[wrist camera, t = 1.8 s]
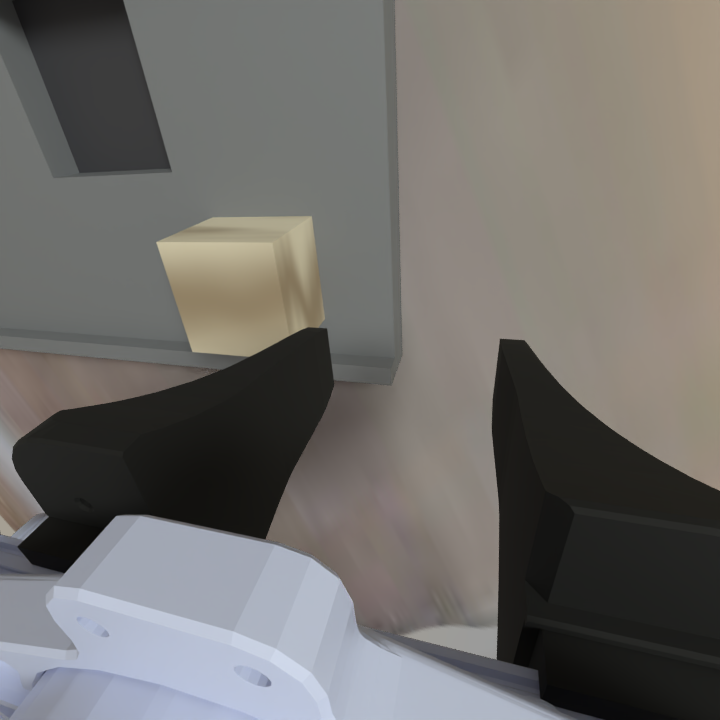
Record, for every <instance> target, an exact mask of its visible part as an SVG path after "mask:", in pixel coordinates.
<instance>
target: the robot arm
mask: <svg viewBox="0 0 720 720" xmlns="http://www.w3.org/2000/svg"><path fill="white" fill-rule="evenodd" d="M333 387H334V378H333V370H332V362H331V354H330V347H329V339H328V331H327V328H314V327H307V328H305V329H302V330H300V331H298V332H296V333H294V334H292V335H290V336H288V337H286V338H284V339H283V340H281V341H279V342H277V343H275V344H273V345H271V346H270V347H268V348H266V349H264V350H262V351H260V352H258V353H256V354H254V355H252V356H250V357H248V358H246V359H244V360H242V361H240V362H238V363H236V364H234V365H232V366H230V367H227V368H225V369H223V370H220V371H218V372H216V373H213V374H211V375H208V376H205V377H203V378H200V379H197V380H195V381H192V382H189V383H185V384H182V385H179V386H176V387H172V388H169V389H166V390H163V391H159V392H156V393H152V394H148V395H144V396H140V397H135V398H131V399H126V400H122V401H117V402H112V403H106V404H100V405H94V406H88V407H81V408H75V409H68V410H61V411H59V412H57V413H55V414H54V415H52V416H51V417H50V418H48V419H47V420H46V421H44V422H43V423H41V424H40V425H39V426H37V427H36V428H35V429H33V430H32V431H30V432H29V433H28V434H26V435H25V436H24V437H22V438H21V439H19V440H18V441H17V443H16V444H15V445H14V446H13V454H12V460H13V463H14V467H15V470H16V471H17V473H18V475H19V476H20V478H21V480H22V481H23V482H24V484H25V485H26V487H27V488H28V489H29V491H30V492H31V494H32V495H33V496H34V498H35V499H36V501H37V502H38V503H39V505H40V506H41V508H42V509H43V510H44V512H45V513H42V514H37V515H35V516H34V517H33V518H31V519H30V520H29V521H28V522H27V523H25V524H24V525H23V526H22V527H21V528H20V529H19V530H18V531H16V532H15V533H14V534H13V535H12V536H11V537H9V536H5V535H1V534H0V720H720V491H719V490H717V489H714V488H712V487H710V486H708V485H706V484H704V483H702V482H700V481H697V480H695V479H693V478H691V477H690V476H688V475H686V474H684V473H682V472H680V471H679V470H677V469H675V468H673V467H671V466H669V465H668V464H666V463H664V462H662V461H660V460H659V459H657V458H655V457H654V456H652V455H650V454H649V453H647V452H645V451H644V450H642V449H640V448H639V447H637V446H636V445H634V444H633V443H631V442H630V441H628V440H627V439H625V438H624V437H622V436H621V435H619V434H618V433H616V432H615V431H613V430H612V429H611V428H609V427H608V426H607V425H605V424H604V423H603V422H601V421H600V420H599V419H598V418H596V417H595V416H594V415H593V414H591V413H590V412H589V411H588V410H586V409H585V408H584V407H583V406H582V405H581V404H580V403H578V402H577V401H576V400H575V399H574V398H573V397H572V396H571V395H570V394H569V393H568V392H567V391H566V390H565V389H564V388H563V387H562V386H561V385H560V384H559V383H558V381H557V380H556V379H555V378H554V377H553V376H552V375H551V373H550V372H549V371H548V370H547V369H546V368H545V366H544V365H543V364H542V363H541V361H540V360H539V359H538V357H537V356H536V355H535V353H534V352H533V351H532V349H531V348H530V347H529V345H528V344H527V343H526V342H525V341H524V340H510V339H500V344H499V352H498V361H497V369H496V377H495V386H494V394H493V408H492V437H493V447H494V458H495V468H496V477H497V487H498V497H499V591H498V636H497V638H498V639H497V660H495V659H491V658H487V657H483V656H479V655H475V654H471V653H467V652H464V651H460V650H456V649H452V648H448V647H443V646H440V645H436V644H432V643H428V642H424V641H420V640H416V639H412V638H408V637H404V636H400V635H396V634H392V633H388V632H384V631H381V630H377V629H373V628H369V627H365V626H362V625H359V624H357V623H356V619H355V612H354V605H353V601H352V600H351V598H350V596H349V594H348V592H347V591H346V589H345V587H344V585H343V583H342V582H341V580H340V578H339V576H338V574H337V573H336V572H334V571H333V570H332V569H330V568H329V567H328V566H326V565H325V564H324V563H322V562H321V561H320V560H318V559H317V558H316V557H314V556H313V555H312V554H309V553H306V552H304V551H301V550H298V549H296V548H293V547H290V546H287V545H285V544H282V543H279V542H274V541H270V540H265V539H266V536H267V533H268V531H269V528H270V525H271V523H272V520H273V517H274V515H275V512H276V509H277V507H278V504H279V502H280V499H281V497H282V494H283V492H284V489H285V487H286V484H287V482H288V480H289V477H290V475H291V473H292V471H293V469H294V467H295V465H296V463H297V462H298V460H299V458H300V456H301V454H302V452H303V451H304V449H305V447H306V445H307V443H308V441H309V440H310V438H311V436H312V434H313V432H314V430H315V429H316V427H317V425H318V423H319V421H320V419H321V417H322V415H323V413H324V412H325V409H326V407H327V404H328V401H329V399H330V396H331V393H332V390H333Z"/></svg>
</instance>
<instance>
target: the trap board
mask: <svg viewBox="0 0 720 720" xmlns="http://www.w3.org/2000/svg"><path fill="white" fill-rule="evenodd" d="M278 216H312V222H313V230H314V237H315V245H316V253H317V261H318V268H319V276H320V284H321V292H322V299H323V307H324V315H325V320H324V321H323V322H322V324H321V325H320V326H319V328H327V331H328V339H329V347H330V354H331V362H332V370H333V378H334V380H338V381H348V382H359V383H369V384H380V385H390V386H392V383H393V380H394V377H395V374H396V371H397V368H398V365H399V363H400V360H401V357H402V323H401V278H400V232H399V186H398V140H397V94H396V48H395V2H394V0H0V348H2V349H12V350H23V351H33V352H44V353H54V354H65V355H75V356H86V357H96V358H107V359H117V360H128V361H138V362H149V363H159V364H170V365H180V366H191V367H201V368H212V369H222V370H223V369H225V368H227V367H230V366H232V365H234V364H236V363H238V362H240V361H242V360H244V359H246V358H248V357H246V356H234V355H222V354H211V353H199V352H192V349H191V346H190V343H189V340H188V337H187V334H186V331H185V328H184V325H183V322H182V319H181V316H180V313H179V310H178V307H177V304H176V300H175V297H174V294H173V291H172V288H171V285H170V282H169V279H168V276H167V273H166V270H165V267H164V264H163V261H162V258H161V255H160V252H159V249H158V246H157V243H156V242H158V241H160V240H162V239H164V238H167V237H169V236H171V235H173V234H176V233H178V232H180V231H183V230H185V229H187V228H189V227H192V226H194V225H196V224H199V223H201V222H203V221H205V220H208V219H210V218H212V217H278Z"/></svg>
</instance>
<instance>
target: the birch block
mask: <svg viewBox="0 0 720 720" xmlns="http://www.w3.org/2000/svg"><path fill="white" fill-rule="evenodd" d="M156 243H157V246H158V249H159V252H160V255H161V258H162V261H163V264H164V267H165V270H166V273H167V276H168V279H169V282H170V285H171V288H172V291H173V294H174V297H175V300H176V304H177V307H178V310H179V313H180V316H181V319H182V322H183V325H184V328H185V331H186V334H187V337H188V340H189V343H190V346H191V349H192V352H199V353H211V354H222V355H234V356H246V357H250V356H252V355H254V354H256V353H258V352H260V351H262V350H264V349H266V348H268V347H270V346H271V345H273V344H275V343H277V342H279V341H281V340H283V339H284V338H286V337H288V336H290V335H292V334H294V333H296V332H298V331H300V330H302V329H305V328H307V327H314V328H319V326H320V325H321V324H322V322H323V321H324V320H325V315H324V307H323V299H322V292H321V284H320V276H319V268H318V261H317V253H316V245H315V237H314V230H313V222H312V216H278V217H212V218H210V219H208V220H205V221H203V222H201V223H199V224H196V225H194V226H192V227H189V228H187V229H185V230H183V231H180V232H178V233H176V234H173V235H171V236H169V237H167V238H164V239H162V240H160V241H158V242H156Z"/></svg>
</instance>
